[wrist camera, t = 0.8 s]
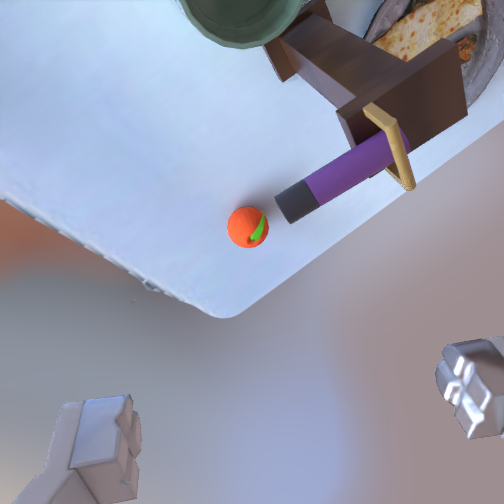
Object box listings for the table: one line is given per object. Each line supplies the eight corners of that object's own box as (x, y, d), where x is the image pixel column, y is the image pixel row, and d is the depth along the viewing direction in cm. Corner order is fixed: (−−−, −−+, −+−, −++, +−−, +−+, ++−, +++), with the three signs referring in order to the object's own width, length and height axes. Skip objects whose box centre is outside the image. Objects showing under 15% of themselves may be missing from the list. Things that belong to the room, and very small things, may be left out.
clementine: (237, 188, 64) (249, 213, 59) (271, 200, 68) (285, 224, 63) (216, 225, 68) (225, 252, 63) (249, 235, 72) (261, 260, 67)
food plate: (363, 157, 68) (373, 167, 65) (329, 19, 52) (341, 26, 49) (498, 83, 66) (514, 91, 63) (507, -84, 50) (529, -83, 47)
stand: (278, 85, 55) (392, 202, 34) (253, 37, 50) (369, 140, 29) (339, 40, 54) (500, 134, 32) (320, -13, 49) (495, 57, 27)
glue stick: (284, 211, 37) (293, 230, 35) (270, 191, 35) (279, 210, 33) (397, 142, 34) (413, 158, 33) (389, 117, 33) (406, 132, 31)
